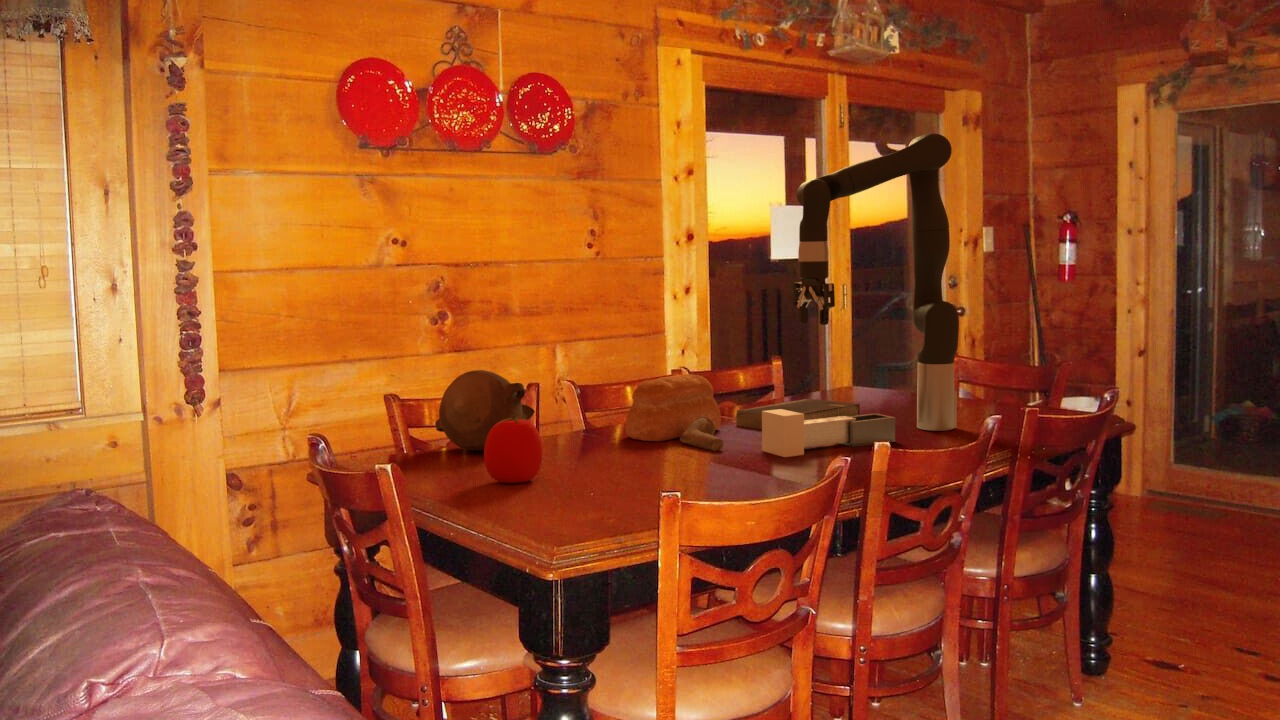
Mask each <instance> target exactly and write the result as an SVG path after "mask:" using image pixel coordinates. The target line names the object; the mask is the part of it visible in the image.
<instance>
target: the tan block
mask: <svg viewBox="0 0 1280 720" xmlns="http://www.w3.org/2000/svg"><path fill="white" fill-rule="evenodd" d="M761 451H762V452H764V453H768V454H772V455H775V456H779V457H783V458H789V457H797V456H803V455H805V448H804V414H802V413H797V412H793V411H788V410H783V409H777V410H767V411H762V429H761Z"/></svg>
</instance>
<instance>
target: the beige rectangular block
mask: <svg viewBox="0 0 1280 720" xmlns="http://www.w3.org/2000/svg"><path fill="white" fill-rule="evenodd" d="M853 421H856V418H852V417H847V416H839V417H830V418H821V419H812V420H804V449H805V448H812V447H819V446H827V445H834V444H836V445H837V444H838V443H844V442H850V422H853Z"/></svg>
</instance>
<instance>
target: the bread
mask: <svg viewBox="0 0 1280 720" xmlns="http://www.w3.org/2000/svg"><path fill="white" fill-rule="evenodd" d="M714 393H715V392H714V388H713V385H712V384H711V383H710V381H709V380H708V379H707V378H705V377H704V376H703V375H698V374H693V373H692V374H691V373H690V374H687V373H686V374H683V375H668V376H662V377H658V378H656V379H647V380H644V381H641V382H640V383H639V384H638V385H637V386H636V388H635V389H634V390H633V393H632V403H631V406H630V408H629V410H628V413H627V414H626V415H627V416H626V419H625V421H626V422H625V427H624V428H625V432H626V435H627V437H628V438H630V439H634V440H637V441H638V440H639V441H644V442H665V441H669V440H674V439H677V438H679V439H680V437H681V436H682V434H683V433H684V432H685V430H686V429H687V428H688V427H689V426H690V425H691V424H692V423H693V422H694V421H695V420H696V419H697V418H698V417H701V416H705V417H708V418H709V419H710V420H712V422H713V424H714V426H715V431H716V430H719V428H720V426H721V422H722V421H721V411H720V408H719V405H718V402H717V401H716V400H715V397H714Z"/></svg>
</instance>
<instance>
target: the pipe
mask: <svg viewBox="0 0 1280 720" xmlns="http://www.w3.org/2000/svg"><path fill="white" fill-rule="evenodd" d="M715 432H716V430H715V426H714V424H713V422H712V420H710V419H709V418H708V417H705V416H701V417H698V418H697V419H696V420H695V421H694V422H693V423H692V424H691V425H690V426H689V427H688V428H687V429H686V430H685V432H684V433H683V434H682V436H681V437H679V440H680V442H681V443H683V444H686V445H689V446H693V447H695V448H700V449H704V450H707V451H711V452H717V451H716V450H719V451H720V450H722V449H723V448H724V441H723V439H722V438H720V437H717V436H714V434H715Z"/></svg>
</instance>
